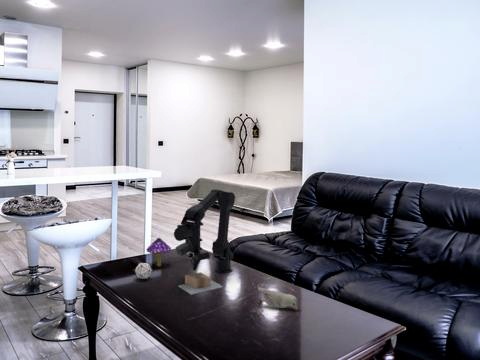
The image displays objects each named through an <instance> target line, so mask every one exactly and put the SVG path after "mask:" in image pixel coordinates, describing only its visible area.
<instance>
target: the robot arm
mask: <svg viewBox="0 0 480 360" xmlns="http://www.w3.org/2000/svg"><path fill="white" fill-rule="evenodd" d="M235 201H236V195H235V194H234V192H232V191H224V190H221V189H216V188H215V189H214V188H213V189H211V190H210V192H209V193H208V194H207V195H206V196H205V197H204V198H203V199H201V201H200V202H199V203H197V204H196V205H192V206H190V207H189V208H187V209H186V210H185V212H184V216H183V218H182V220H181V221H180V224H177V226H176V227H177V228H175V229H174V232H173V236H174V239H175V240H176V241H177V242H182V241H185V242H183V243H180V244H179V245H177V246H176V247H175V250H176V253H177V255H179V256H181V257H182V256H186V257H187V258H188V259H189V262H190V266H191V269H192V271H196V270H197V268H198V266H199V264H200V262H201V261H203V260H209V259H211V254H210V253H209V252H208V251H206V250H203V247H201V242H203V238H202V237H201V227H203V226H204V223H203V222H202V221H203V219H204V217H206V212H207V211H208V210H209V209H210V208H211V207H212V206H213V205H214V204H215V203H216V202H217V205H218V208H219V218H218V219H219V220H218V227H217V229H218V230H217V238H216V239H215V241H213V242H212V248H211V251H212V254H213V258H214V259H216V262H215V268H214V270H215V271H217V272H219V273H221V274H223V273H228V272H232V271H233V269H232V268H231V261H232V260H233V259H234V255H235V254H234V253H233V251H232V250H231V244H230V241H229V239H228V235H229V225H230V216H231V214H230V213H231V210H232V208H233V207H234V206H235Z"/></svg>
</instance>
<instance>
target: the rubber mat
mask: <svg viewBox="0 0 480 360" xmlns="http://www.w3.org/2000/svg"><path fill="white" fill-rule="evenodd" d="M178 288H180V289H182V290H183V291H184V292H186V293H188V295H191V296H193V295H197V294H200V293H205V292H209V291H214V290H218V289H223V288H224V286H223V285H221V284H220V283H218V282H215V280H212V279H210V286H206V287H202V288H197V289H194V288H192V287H191V286H189V285H187V284H186V283H185V284H180V285H178Z"/></svg>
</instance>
